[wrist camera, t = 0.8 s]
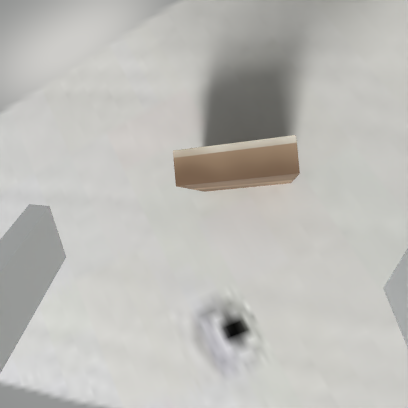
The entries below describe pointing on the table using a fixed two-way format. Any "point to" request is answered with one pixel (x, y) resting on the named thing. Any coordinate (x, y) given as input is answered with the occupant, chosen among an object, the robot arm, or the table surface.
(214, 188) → the walnut tile
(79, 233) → the table surface
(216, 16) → the table surface
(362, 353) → the table surface
